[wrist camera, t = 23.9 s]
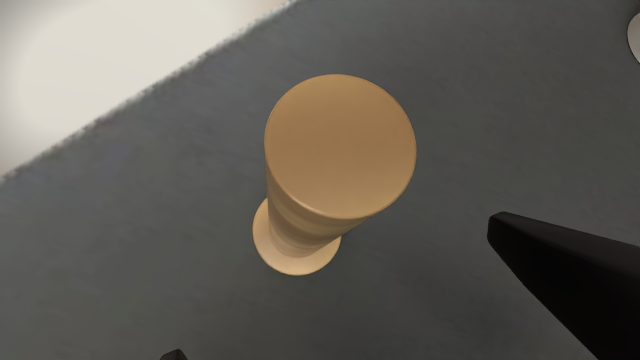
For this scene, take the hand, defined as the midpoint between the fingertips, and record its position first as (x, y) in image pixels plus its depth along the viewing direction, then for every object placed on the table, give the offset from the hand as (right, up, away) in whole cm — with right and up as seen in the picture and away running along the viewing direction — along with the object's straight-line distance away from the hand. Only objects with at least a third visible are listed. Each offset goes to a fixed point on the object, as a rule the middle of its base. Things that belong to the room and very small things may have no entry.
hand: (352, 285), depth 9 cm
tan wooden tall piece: (-2, 0, +9) cm, 10 cm away
